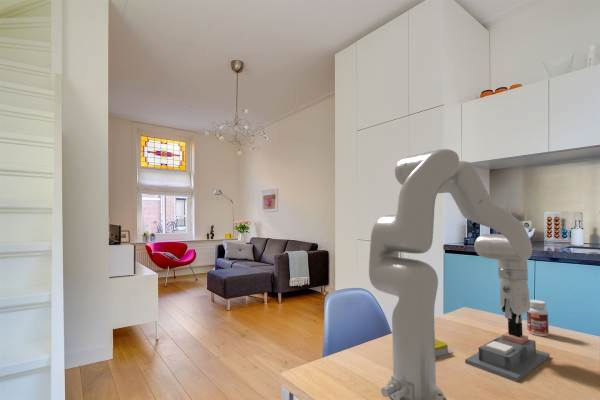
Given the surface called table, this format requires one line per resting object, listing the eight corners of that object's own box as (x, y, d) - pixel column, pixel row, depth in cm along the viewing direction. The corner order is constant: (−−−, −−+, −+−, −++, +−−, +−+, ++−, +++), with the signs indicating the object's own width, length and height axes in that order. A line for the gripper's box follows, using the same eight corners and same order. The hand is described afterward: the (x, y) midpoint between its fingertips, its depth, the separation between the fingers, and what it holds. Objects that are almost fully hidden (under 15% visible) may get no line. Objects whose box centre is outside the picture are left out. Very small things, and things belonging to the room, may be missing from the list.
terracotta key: (521, 350, 92) (521, 339, 92) (502, 345, 96) (502, 334, 96) (528, 346, 95) (527, 335, 95) (509, 341, 99) (509, 331, 99)
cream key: (505, 363, 85) (505, 351, 86) (486, 356, 90) (485, 345, 90) (513, 358, 88) (513, 346, 89) (494, 352, 92) (493, 341, 93)
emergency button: (396, 337, 99) (429, 329, 106) (396, 351, 99) (430, 343, 106) (419, 348, 91) (454, 339, 98) (419, 364, 91) (454, 353, 98)
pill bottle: (530, 335, 111) (529, 302, 112) (524, 329, 117) (523, 298, 117) (551, 337, 109) (550, 304, 110) (545, 331, 115) (543, 300, 115)
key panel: (517, 381, 80) (516, 363, 80) (465, 362, 90) (464, 346, 91) (549, 356, 94) (548, 341, 94) (501, 343, 104) (501, 329, 105)
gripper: (516, 279, 89) (519, 345, 88) (536, 273, 98) (539, 333, 97) (488, 275, 95) (491, 337, 94) (509, 269, 104) (511, 326, 103)
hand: (515, 335), depth 96 cm, fingers closed
